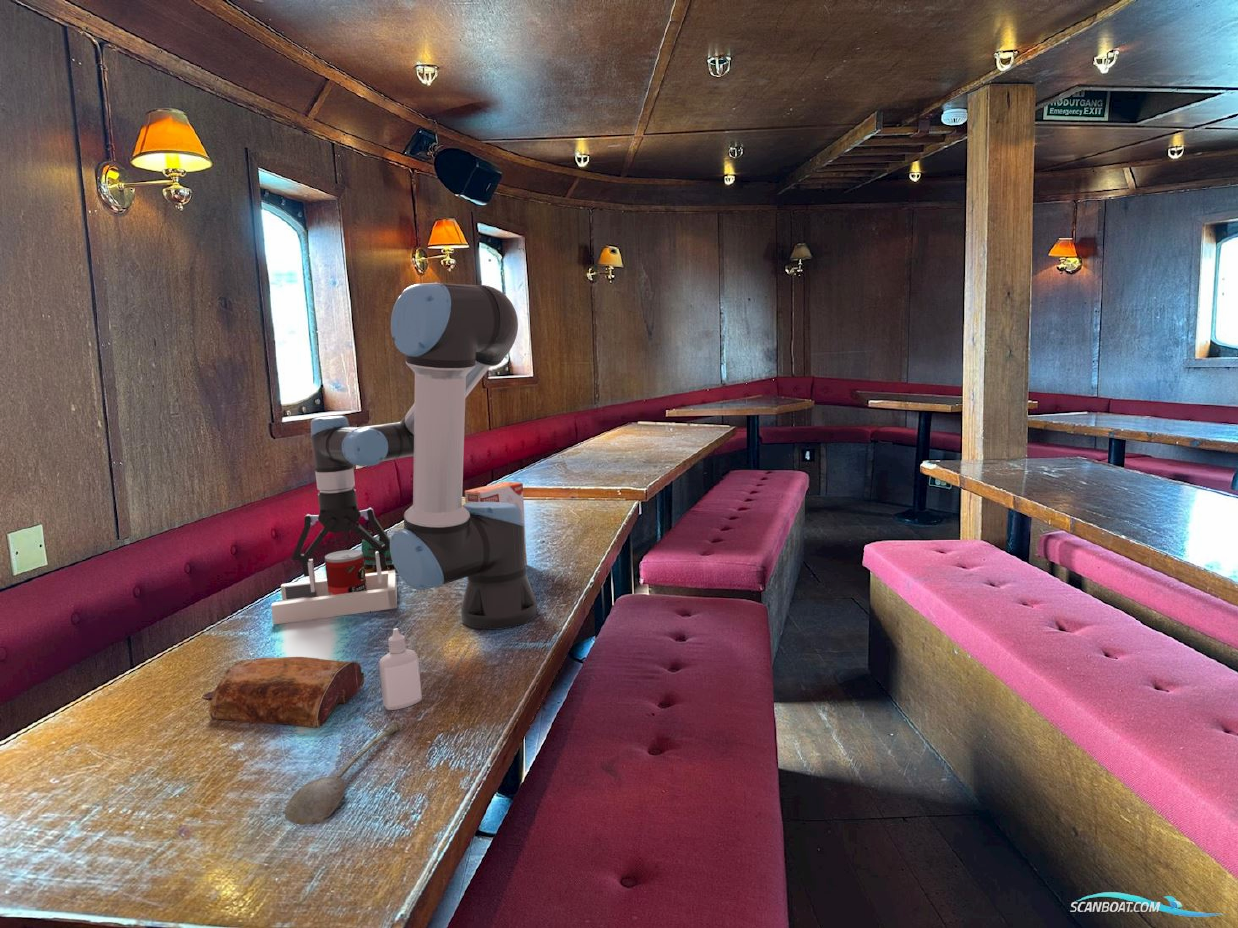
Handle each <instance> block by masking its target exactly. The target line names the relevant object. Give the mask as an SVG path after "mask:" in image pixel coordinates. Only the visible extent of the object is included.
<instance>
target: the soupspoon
mask: <svg viewBox="0 0 1238 928" xmlns="http://www.w3.org/2000/svg"><path fill="white" fill-rule="evenodd" d="M402 730H403V724H402V722H401V721H399V720H394V721H392V723H391V725H390V726H389V727H388V728H387V729H384V730H382V733H380V734H379V735H378V736H376V737H375V738H374V739H372V740H371V741H370V742H369V743H368V744H366V746H364V747H363V748H362V749H361V750H360V751H359V752H357V753H356V754H355V755H354V756H353V757H352V758H350V759H349V760H348V761H347V762H346V763H345V764H344V765H343V766H342V767H341V768H340V769H339V770H338V771H337V772H336V773H335V774H334V775H333V776H332V775H331V776H323V777H319V778H315V779H313V780H311V781H308V782H307V783H305V784H303V785H302V786H301V787H299V788H298V789H297V790H296V791H295V792H294V793H293V794H292V796H291V797H290V799H289V800H288V801H287V804H286V806H285V812H284V814H285V815H284V816H285V819H286V820H287V821H288V822H290V823H294V824H299V825H308V824H317V823H320V822H324V821H326V820H327V819H328V818H329V817H330V816H331V815H332V814H333V813H334V812H335V810H336V808H337V807H338V806H339V805H340V803H341V801H342V799H343V798H344V795H345V792H346V789H347V787H346V786H347V784H346V780H345V779H344V778H343V776H344V774H345V773H347V771H348V770H349V769H351V767H352V766H354V764H355V763H356V762H357V761H358V760H360V758H362V756H364V754H366V753H367V752H368V751H369V750H370V749H372V748H373V746H375V745H376V744H377V743H378V742H379V741H381V740H382V739H383V738H384V737H389V735H392V734H393V733H396V732H398V731H402Z"/></svg>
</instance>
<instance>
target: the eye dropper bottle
mask: <svg viewBox="0 0 1238 928" xmlns="http://www.w3.org/2000/svg"><path fill="white" fill-rule="evenodd" d="M387 641H388V651H389V652H388V653H386V654H384V655H383V656H382V657H381V658H380V660H379V663H378V665H379V666H378V667H379V676H380V687H381V695H382V704H383V705H382V706H383V707H384V708H385V710H387V711H393V710H394V711H395V710H400V709H405V708H408V707H411V706H414V705H416V704H418V703H420V702H421V701H422V699H423V694H422V684H421V682H422V681H421V674H420V663H419V657H418V656H419V655H418V654H417V652H415V650H413V649H409V648H407V647H406V646H407V645H406V637H405V636H404V635H403V634H401V633H400V631H399V628H397V627H395V628H393V629H392V636H390V637H388V640H387Z"/></svg>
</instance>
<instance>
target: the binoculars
mask: <svg viewBox="0 0 1238 928" xmlns="http://www.w3.org/2000/svg"><path fill="white" fill-rule="evenodd" d="M365 530H366V529H365ZM366 531H367V532H368V533H369V534H371V535H372V536H373V535H374V534H373V532H372V531H371V530H366ZM385 533H386V534H387V535H388V532H387V531H385ZM377 537H378V539H376V540H377V541H379V542H380V543H381V544H382V545H384V543H383V541H382V540H381V538H380V537H379V535H378V534H377ZM360 551H362V552H363V558H364V567H365V574H368V573H375V570H377V566H376V556H375V553H376V551H377V550H376V549H375V548H373V547H372V546H371V545H370V544H369V543H368V542H367V541H365V540H364V539H362V540H361V550H360ZM385 559H386V566H385V567H381V572H384V571H392V570H396V569H395V567H394V564H393V562H392V558H391V554H390V549H389V550H387V551H386V552H385Z"/></svg>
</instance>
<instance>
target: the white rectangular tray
mask: <svg viewBox="0 0 1238 928" xmlns="http://www.w3.org/2000/svg"><path fill="white" fill-rule="evenodd" d="M396 572H397V571H396V569H392V570H389V571H384V572H381V573H382V583H380V584H378V575H377V571H376V572H372V573H368V574H365V577H366V587H367V591H360V592H352V593H344V594H337V595H329V593H328V585H327V578H320V579H315V582H316V590H315V592H311V587H310V580H302V581H296V582H287V583H282V584H281V585H280V592H281V593H280V594H281V600H278V601H276V602H271V605H270V607H271V608H270V609H271V616H272V623H273V624H272V625H273V626H274V625H281V624H288V623H296V622H302V621H303V622H304V621H311V620H312V621H313V620H318V619H326V618H334V617H339V616H340V617H341V616H348V615H354V614H356V615H357V614H363V613H370V611H371V612H377V611H386V610H392V609H397V608H398V602H397V601H398V585H397V576H396V575H397V574H396Z"/></svg>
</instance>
